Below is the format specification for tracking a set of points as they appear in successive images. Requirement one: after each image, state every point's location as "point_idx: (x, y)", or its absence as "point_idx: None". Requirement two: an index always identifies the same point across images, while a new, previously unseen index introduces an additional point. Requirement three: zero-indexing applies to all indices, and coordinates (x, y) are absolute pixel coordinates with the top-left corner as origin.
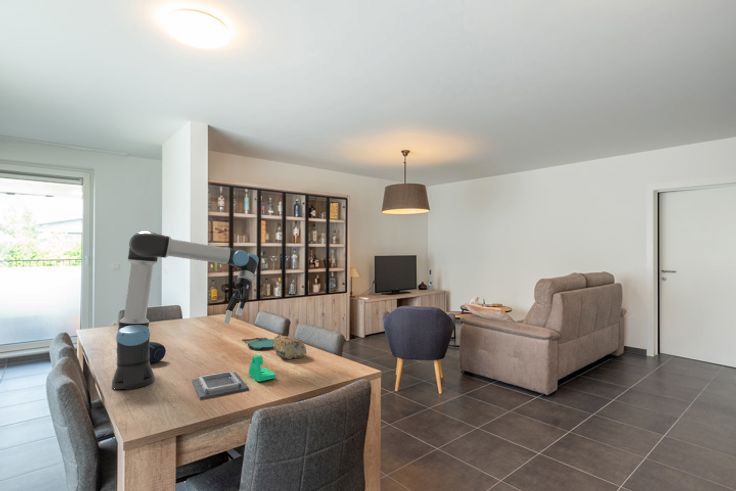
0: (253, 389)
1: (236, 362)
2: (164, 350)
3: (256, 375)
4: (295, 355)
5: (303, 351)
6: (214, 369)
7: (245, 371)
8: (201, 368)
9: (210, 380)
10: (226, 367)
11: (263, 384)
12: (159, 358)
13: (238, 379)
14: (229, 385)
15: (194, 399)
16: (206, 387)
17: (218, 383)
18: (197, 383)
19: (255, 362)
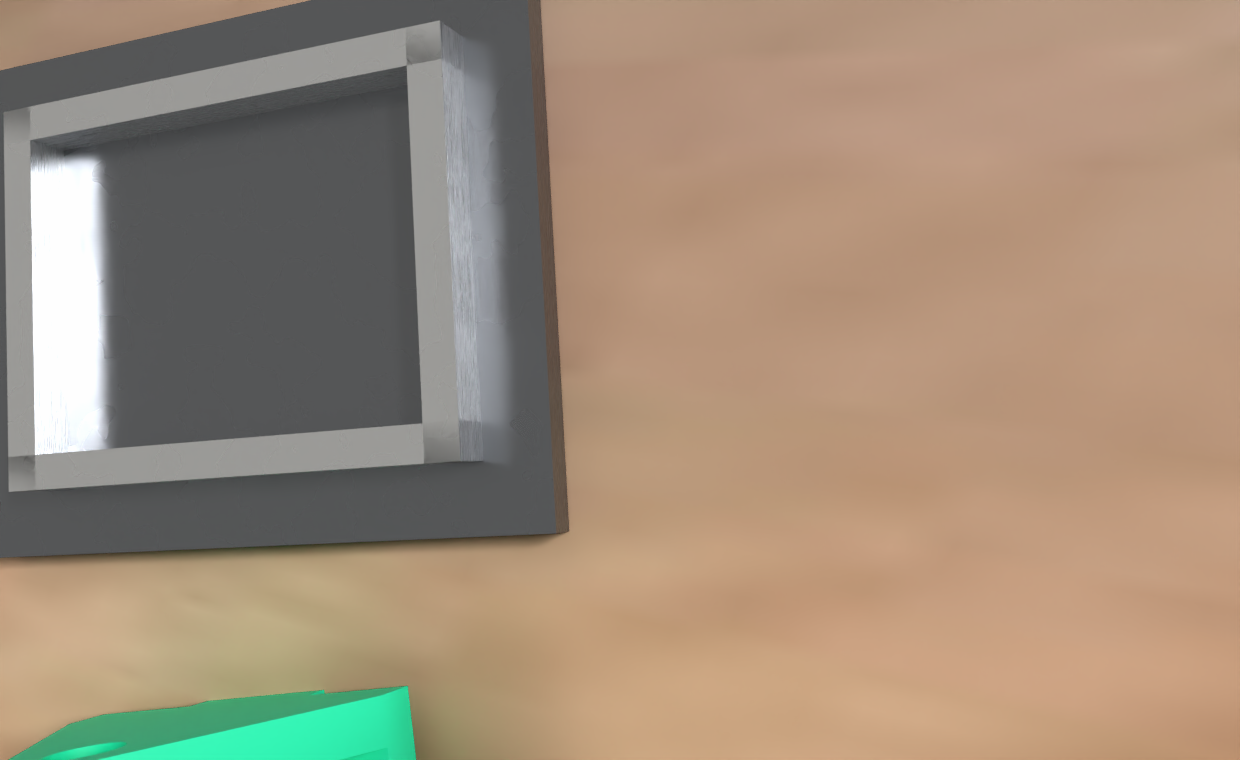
0: (11, 606)
1: (1230, 681)
2: None
3: (129, 719)
4: None
5: None
6: (966, 266)
7: (628, 690)
8: (1139, 63)
9: (383, 181)
10: (985, 461)
11: None
12: None
13: (262, 509)
14: (9, 360)
15: (40, 32)
16: (54, 121)
17: (243, 267)
18: (354, 30)
19: (25, 756)
